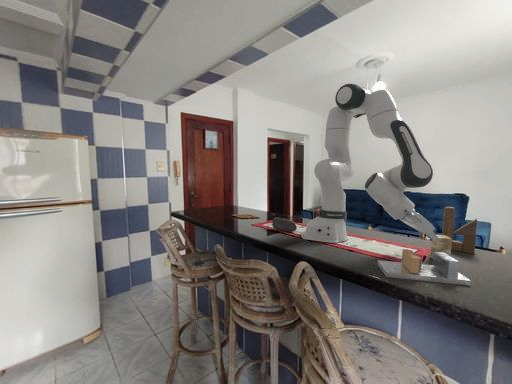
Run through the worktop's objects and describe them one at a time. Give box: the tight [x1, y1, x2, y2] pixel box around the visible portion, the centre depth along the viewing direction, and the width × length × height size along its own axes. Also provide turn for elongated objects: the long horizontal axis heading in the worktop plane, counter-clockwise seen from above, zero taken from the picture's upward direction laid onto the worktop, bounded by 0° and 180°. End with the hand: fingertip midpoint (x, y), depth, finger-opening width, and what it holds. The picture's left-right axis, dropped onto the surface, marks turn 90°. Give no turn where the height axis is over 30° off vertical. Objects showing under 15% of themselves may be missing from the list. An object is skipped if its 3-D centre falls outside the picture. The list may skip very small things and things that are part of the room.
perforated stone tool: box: [271, 216, 298, 233], centre depth 128 cm, size 15×5×7 cm, turn 50°
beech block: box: [430, 234, 452, 259], centre depth 85 cm, size 4×5×9 cm
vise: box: [377, 252, 472, 286], centre depth 73 cm, size 22×10×6 cm, turn 76°
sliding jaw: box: [401, 248, 423, 273], centre depth 73 cm, size 3×8×5 cm, turn 166°
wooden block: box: [441, 206, 478, 255], centre depth 96 cm, size 4×11×18 cm, turn 44°
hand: (429, 235), depth 85 cm, fingers open, 8 cm apart
